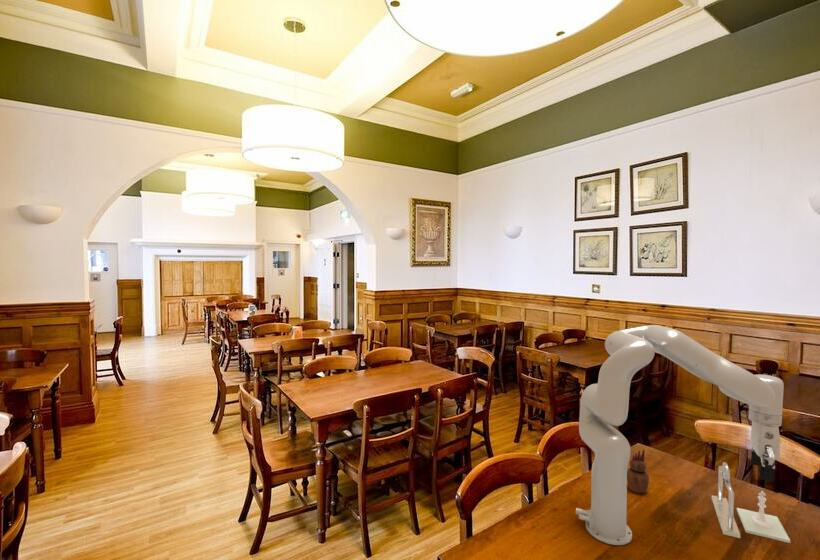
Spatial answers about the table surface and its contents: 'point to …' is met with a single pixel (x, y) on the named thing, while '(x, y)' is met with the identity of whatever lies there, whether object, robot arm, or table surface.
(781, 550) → the table surface
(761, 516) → the chess piece
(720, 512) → the silver metal frame stand
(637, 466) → the wooden figurine
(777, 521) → the pad
